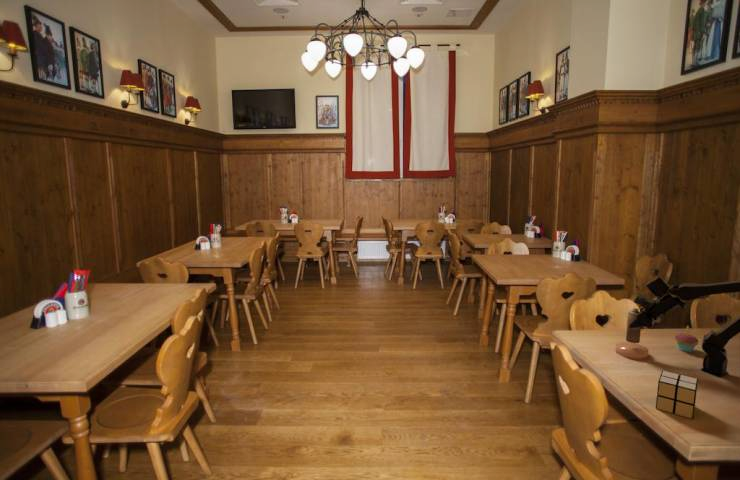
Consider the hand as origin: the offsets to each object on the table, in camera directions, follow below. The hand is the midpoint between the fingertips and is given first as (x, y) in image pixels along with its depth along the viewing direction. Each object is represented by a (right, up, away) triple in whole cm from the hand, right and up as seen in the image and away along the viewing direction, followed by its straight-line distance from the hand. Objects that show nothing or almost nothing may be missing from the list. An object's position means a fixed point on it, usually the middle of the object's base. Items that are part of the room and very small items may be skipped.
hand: (630, 325), depth 186 cm
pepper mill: (+1, -7, 0) cm, 7 cm away
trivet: (+1, -13, +1) cm, 13 cm away
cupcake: (+27, -12, +5) cm, 30 cm away
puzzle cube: (-10, -20, -41) cm, 47 cm away
